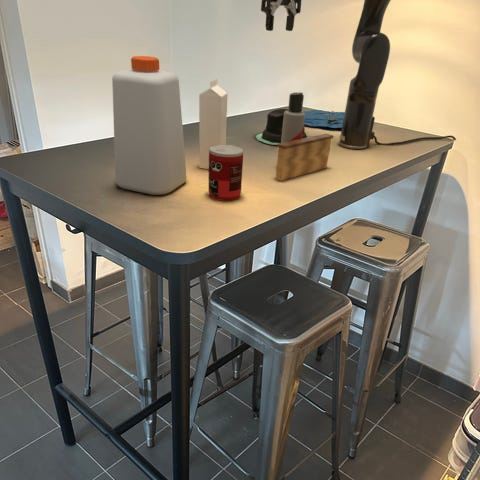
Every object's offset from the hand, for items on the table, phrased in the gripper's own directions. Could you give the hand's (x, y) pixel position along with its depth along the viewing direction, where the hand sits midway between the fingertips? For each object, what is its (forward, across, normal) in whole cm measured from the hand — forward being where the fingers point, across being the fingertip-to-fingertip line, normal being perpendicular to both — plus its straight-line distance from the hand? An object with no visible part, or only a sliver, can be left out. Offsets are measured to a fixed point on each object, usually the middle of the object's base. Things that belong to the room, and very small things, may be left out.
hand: (279, 30), depth 134 cm
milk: (+32, -32, -8) cm, 46 cm away
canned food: (+32, -44, -27) cm, 61 cm away
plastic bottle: (+32, -54, -10) cm, 63 cm away
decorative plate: (+32, +44, +10) cm, 56 cm away
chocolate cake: (+32, +9, +1) cm, 34 cm away
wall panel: (+32, -14, -26) cm, 44 cm away
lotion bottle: (+32, -14, -21) cm, 41 cm away
